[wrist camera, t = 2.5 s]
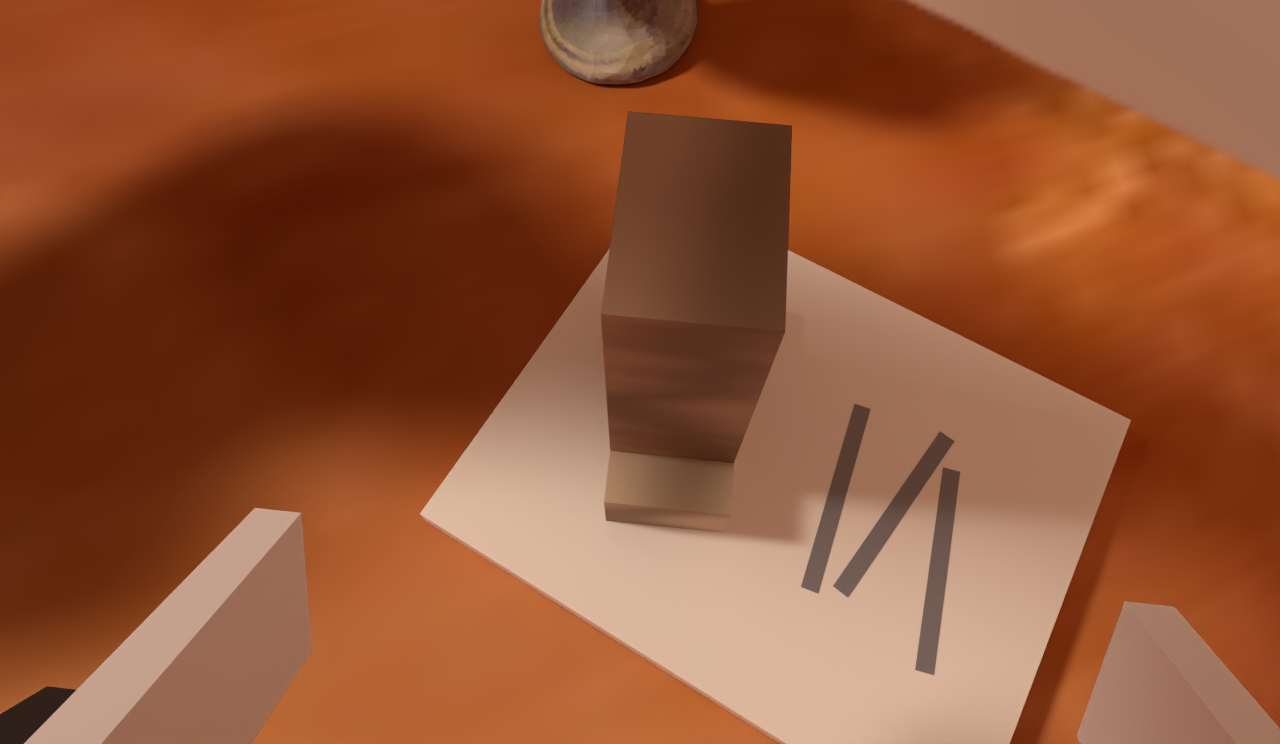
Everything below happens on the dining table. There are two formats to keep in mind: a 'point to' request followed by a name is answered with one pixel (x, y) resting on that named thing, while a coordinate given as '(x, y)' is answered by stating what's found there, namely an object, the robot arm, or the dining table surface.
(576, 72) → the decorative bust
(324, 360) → the dining table surface
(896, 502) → the marked board
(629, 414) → the block
